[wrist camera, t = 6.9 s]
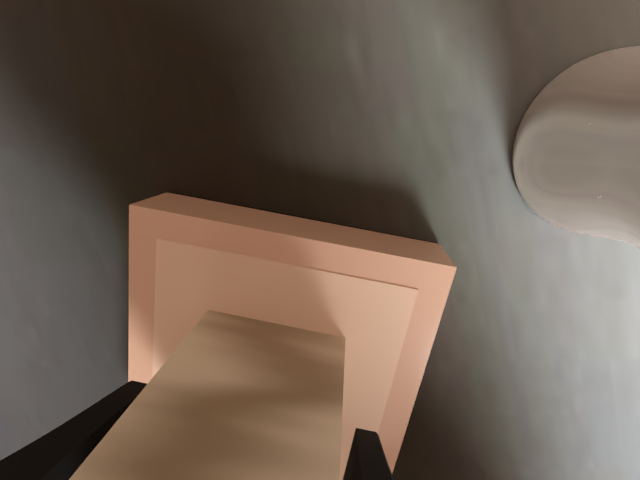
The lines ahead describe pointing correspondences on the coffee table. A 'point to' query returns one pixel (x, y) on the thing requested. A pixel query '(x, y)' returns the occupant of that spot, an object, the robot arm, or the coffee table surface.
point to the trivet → (291, 296)
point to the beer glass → (585, 148)
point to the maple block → (233, 409)
